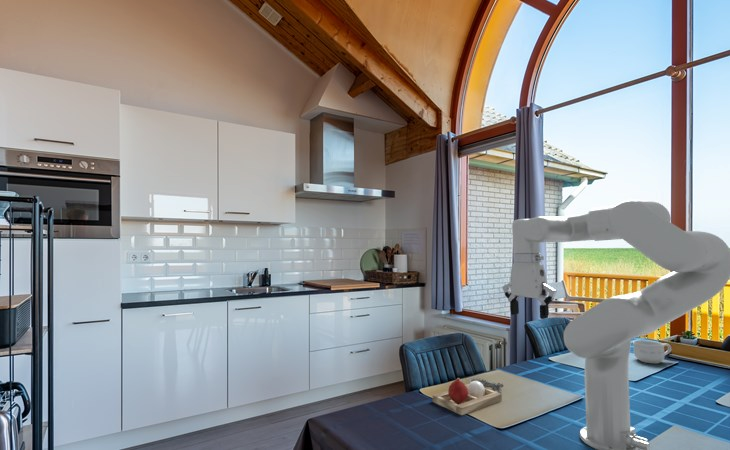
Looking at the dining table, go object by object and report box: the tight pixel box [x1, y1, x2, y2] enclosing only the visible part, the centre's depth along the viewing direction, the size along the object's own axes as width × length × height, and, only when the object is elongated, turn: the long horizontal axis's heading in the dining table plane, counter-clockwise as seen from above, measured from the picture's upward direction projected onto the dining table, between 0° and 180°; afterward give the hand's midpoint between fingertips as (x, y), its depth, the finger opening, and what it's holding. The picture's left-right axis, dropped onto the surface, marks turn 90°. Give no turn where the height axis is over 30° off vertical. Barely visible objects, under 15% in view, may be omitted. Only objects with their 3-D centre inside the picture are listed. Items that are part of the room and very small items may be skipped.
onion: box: [448, 377, 468, 405], centre depth 121 cm, size 6×6×8 cm
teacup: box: [632, 340, 672, 364], centre depth 165 cm, size 14×11×8 cm
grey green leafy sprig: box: [468, 378, 504, 394], centre depth 133 cm, size 11×8×4 cm
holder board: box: [432, 383, 503, 416], centre depth 123 cm, size 12×18×3 cm, turn 124°
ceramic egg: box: [468, 381, 485, 398], centre depth 125 cm, size 5×5×5 cm
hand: (529, 316), depth 120 cm, fingers open, 9 cm apart
